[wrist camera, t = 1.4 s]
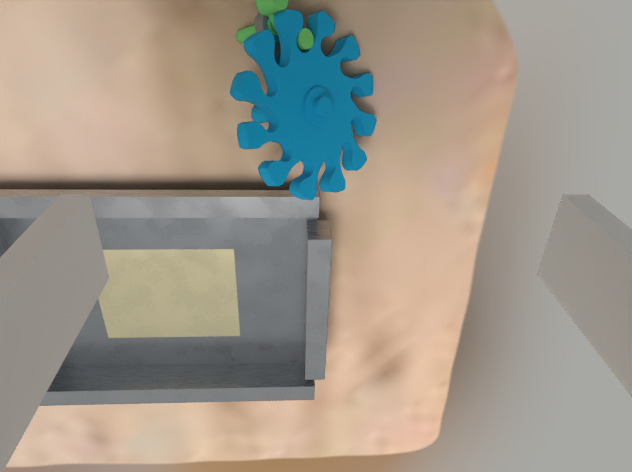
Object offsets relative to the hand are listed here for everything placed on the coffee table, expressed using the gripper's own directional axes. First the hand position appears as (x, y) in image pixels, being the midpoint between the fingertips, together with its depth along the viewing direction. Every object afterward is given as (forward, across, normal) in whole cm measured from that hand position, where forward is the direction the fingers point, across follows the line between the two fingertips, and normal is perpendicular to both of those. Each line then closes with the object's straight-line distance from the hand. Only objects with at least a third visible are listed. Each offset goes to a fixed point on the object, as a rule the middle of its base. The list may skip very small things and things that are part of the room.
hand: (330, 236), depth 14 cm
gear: (+18, 0, 0) cm, 18 cm away
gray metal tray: (+18, -10, -15) cm, 25 cm away
